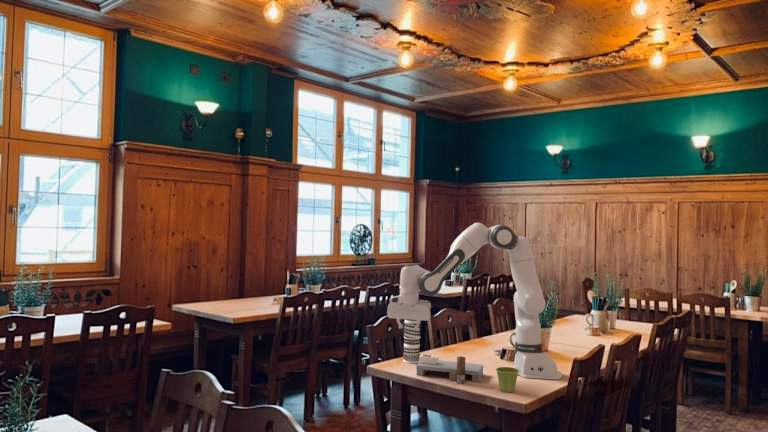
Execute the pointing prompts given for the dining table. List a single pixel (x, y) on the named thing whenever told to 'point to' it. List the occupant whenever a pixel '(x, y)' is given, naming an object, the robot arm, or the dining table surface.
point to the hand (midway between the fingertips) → (408, 328)
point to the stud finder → (428, 359)
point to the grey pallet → (451, 369)
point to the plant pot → (507, 378)
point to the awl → (460, 370)
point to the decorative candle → (411, 341)
